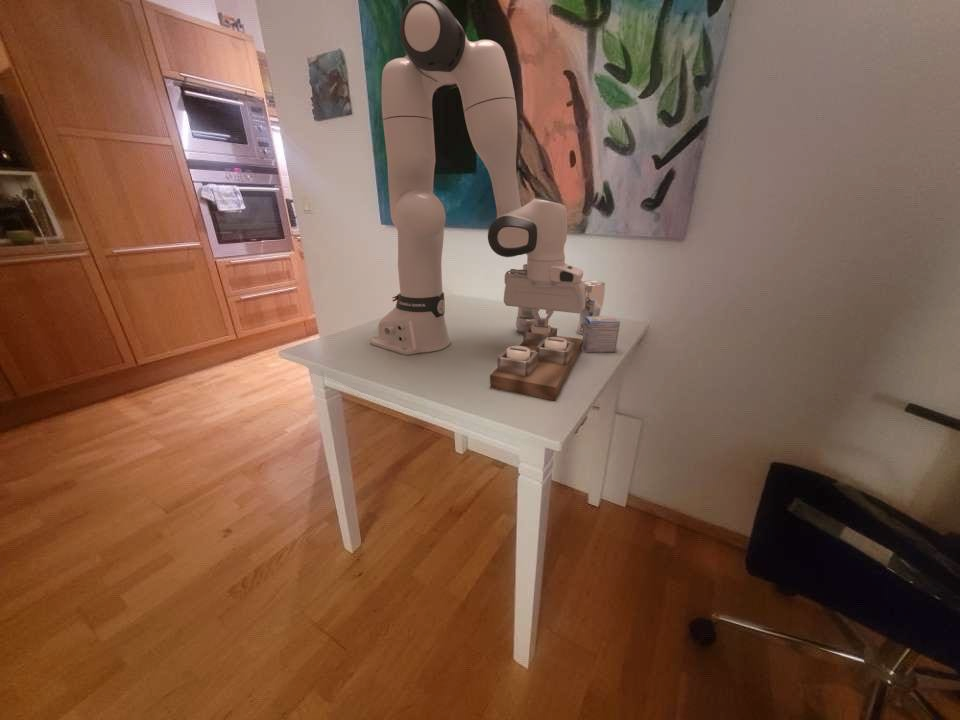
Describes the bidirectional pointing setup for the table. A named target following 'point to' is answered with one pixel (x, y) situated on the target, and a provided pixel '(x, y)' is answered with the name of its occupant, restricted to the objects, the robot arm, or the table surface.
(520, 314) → the plastic bottle
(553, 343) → the knob
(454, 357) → the table surface
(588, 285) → the beer glass
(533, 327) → the knob
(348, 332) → the table surface
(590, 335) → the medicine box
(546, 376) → the knob mount
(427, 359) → the table surface
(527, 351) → the knob
